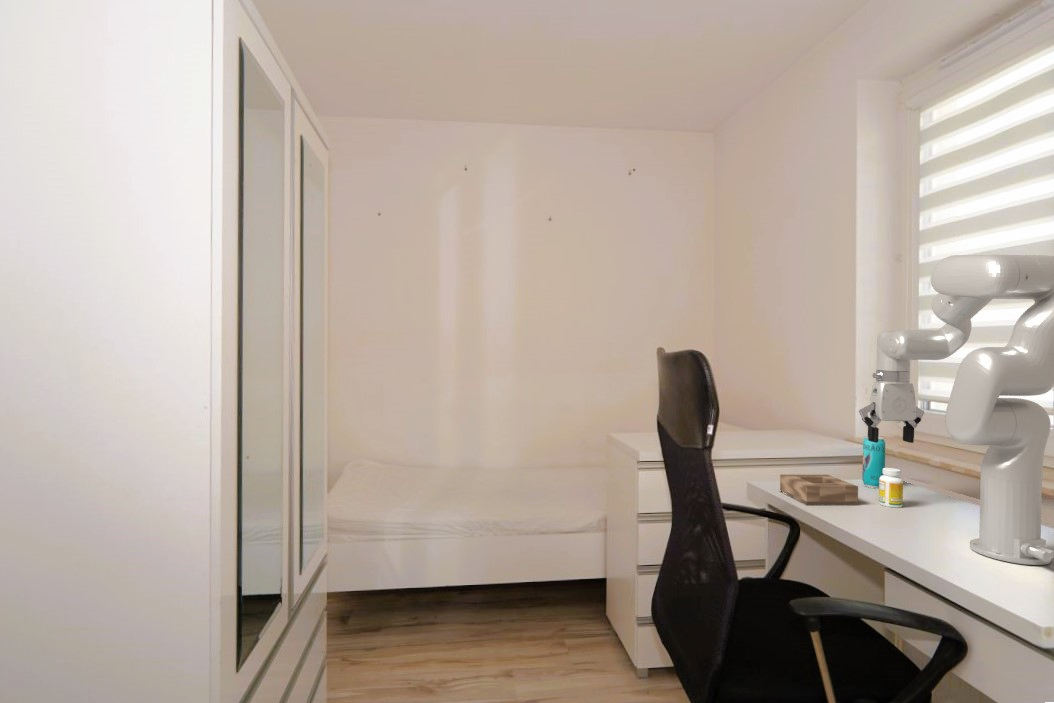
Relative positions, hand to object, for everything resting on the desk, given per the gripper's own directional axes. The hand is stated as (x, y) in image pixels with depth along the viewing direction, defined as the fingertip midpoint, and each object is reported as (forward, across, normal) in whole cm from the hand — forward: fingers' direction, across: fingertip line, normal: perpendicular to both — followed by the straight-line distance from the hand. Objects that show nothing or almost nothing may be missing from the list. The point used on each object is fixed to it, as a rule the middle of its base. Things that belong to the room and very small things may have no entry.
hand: (890, 441), depth 152 cm
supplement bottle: (+17, 0, -1) cm, 17 cm away
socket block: (+17, -16, +6) cm, 24 cm away
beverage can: (+17, +9, +19) cm, 27 cm away
